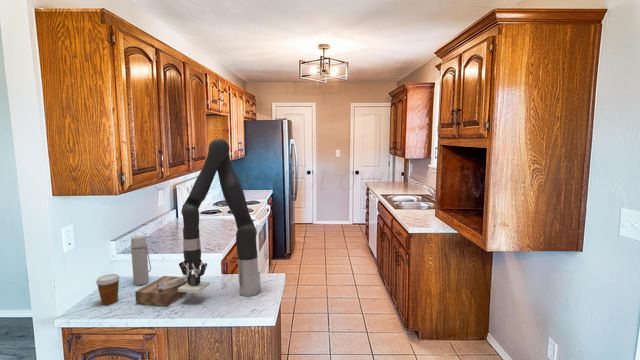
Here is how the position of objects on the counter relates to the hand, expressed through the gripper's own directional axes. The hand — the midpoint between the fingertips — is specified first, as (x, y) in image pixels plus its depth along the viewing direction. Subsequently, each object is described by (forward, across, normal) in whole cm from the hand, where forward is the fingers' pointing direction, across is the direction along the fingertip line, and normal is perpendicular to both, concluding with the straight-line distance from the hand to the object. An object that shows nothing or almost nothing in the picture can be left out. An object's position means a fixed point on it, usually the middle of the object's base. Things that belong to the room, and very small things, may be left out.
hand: (194, 284), depth 166 cm
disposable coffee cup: (+8, +39, +9) cm, 41 cm away
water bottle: (+8, +41, -15) cm, 44 cm away
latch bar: (0, +9, 0) cm, 9 cm away
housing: (+8, +17, -1) cm, 19 cm away
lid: (+2, 0, 0) cm, 2 cm away
